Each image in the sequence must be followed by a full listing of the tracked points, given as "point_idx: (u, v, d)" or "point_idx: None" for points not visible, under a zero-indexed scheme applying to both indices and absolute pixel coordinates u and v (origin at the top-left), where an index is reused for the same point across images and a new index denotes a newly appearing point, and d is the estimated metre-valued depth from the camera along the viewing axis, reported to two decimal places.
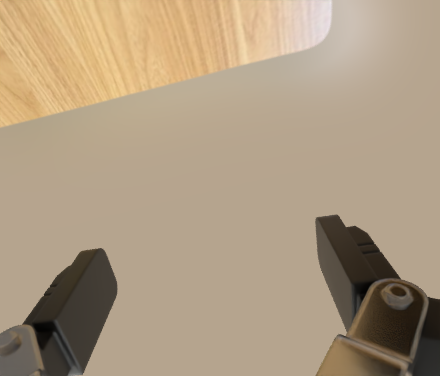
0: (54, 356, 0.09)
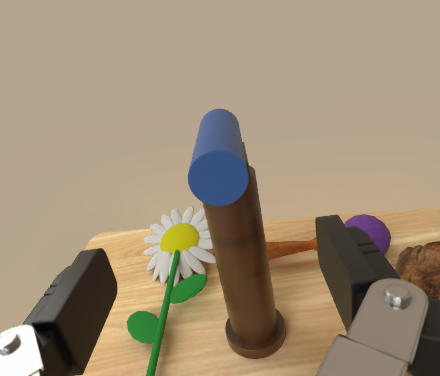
0: (54, 356, 0.09)
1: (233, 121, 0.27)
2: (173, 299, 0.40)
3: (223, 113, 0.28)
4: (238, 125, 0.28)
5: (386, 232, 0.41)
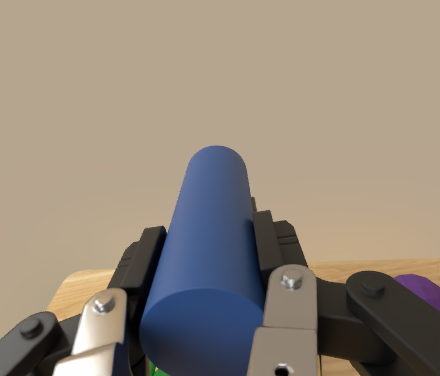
0: (141, 318, 0.10)
1: (238, 172, 0.16)
2: None
3: (222, 156, 0.17)
4: (246, 174, 0.18)
5: None
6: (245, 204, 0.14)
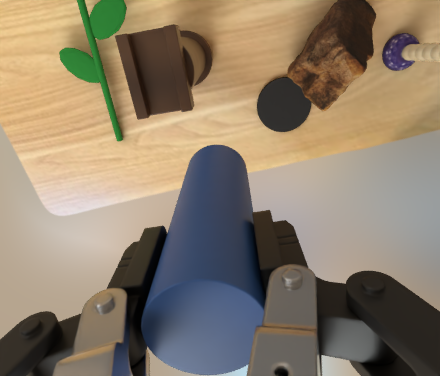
0: (140, 318, 0.10)
1: (238, 170, 0.17)
2: (97, 34, 0.38)
3: (222, 155, 0.18)
4: (246, 173, 0.18)
5: None
6: (244, 201, 0.14)
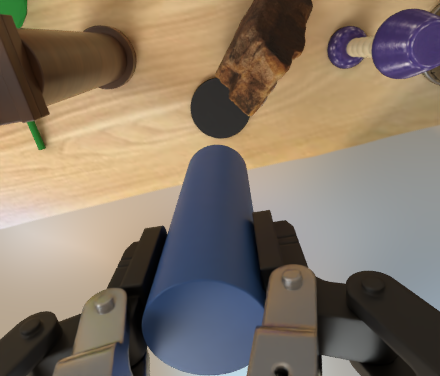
0: (140, 318, 0.10)
1: (238, 170, 0.17)
2: None
3: (222, 155, 0.18)
4: (246, 173, 0.18)
5: None
6: (245, 201, 0.14)
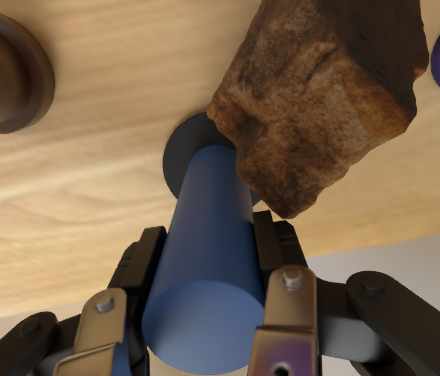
0: (140, 318, 0.10)
1: None
2: None
3: (222, 155, 0.18)
4: None
5: None
6: (245, 201, 0.14)
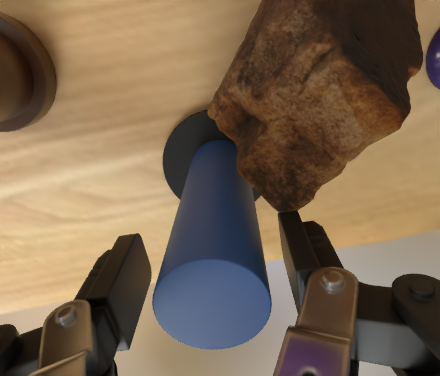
0: (106, 330, 0.09)
1: None
2: None
3: (225, 149, 0.18)
4: None
5: None
6: (246, 192, 0.15)
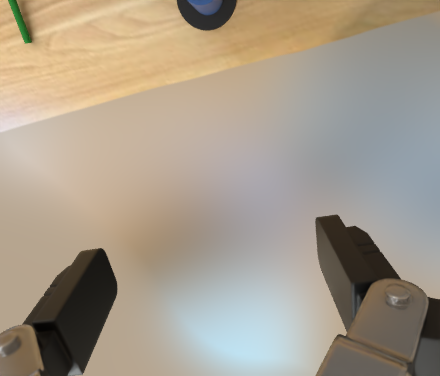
0: (54, 356, 0.09)
1: None
2: None
3: None
4: None
5: None
6: None
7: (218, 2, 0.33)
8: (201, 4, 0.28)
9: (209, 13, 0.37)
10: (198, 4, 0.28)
